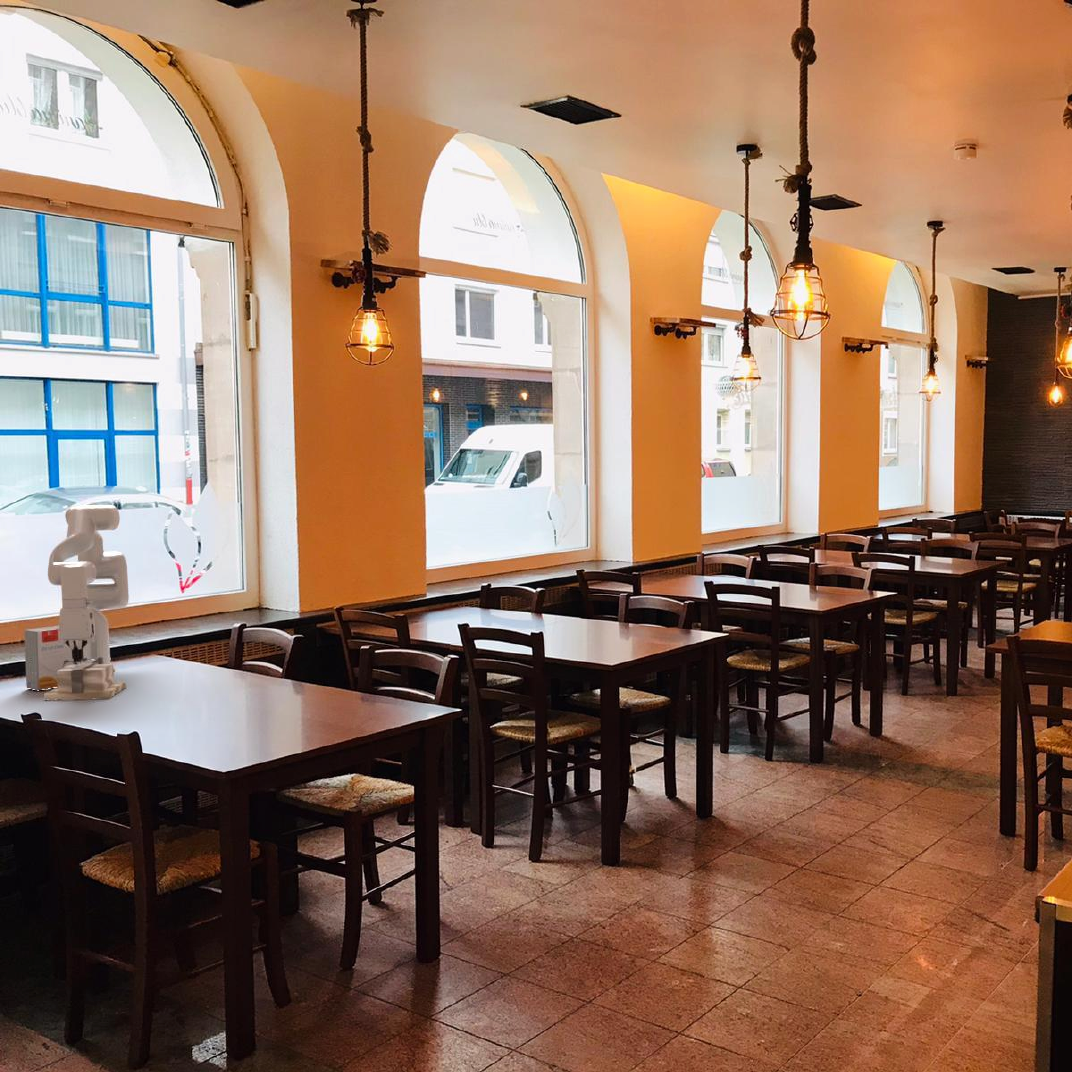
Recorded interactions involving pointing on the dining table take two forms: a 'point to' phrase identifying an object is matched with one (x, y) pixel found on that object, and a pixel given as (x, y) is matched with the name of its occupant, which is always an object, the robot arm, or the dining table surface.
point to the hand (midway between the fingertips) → (77, 661)
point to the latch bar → (84, 664)
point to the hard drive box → (45, 657)
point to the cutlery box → (86, 682)
